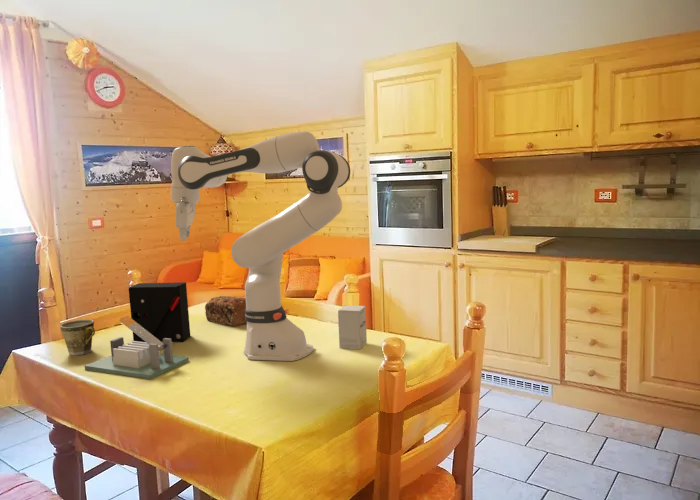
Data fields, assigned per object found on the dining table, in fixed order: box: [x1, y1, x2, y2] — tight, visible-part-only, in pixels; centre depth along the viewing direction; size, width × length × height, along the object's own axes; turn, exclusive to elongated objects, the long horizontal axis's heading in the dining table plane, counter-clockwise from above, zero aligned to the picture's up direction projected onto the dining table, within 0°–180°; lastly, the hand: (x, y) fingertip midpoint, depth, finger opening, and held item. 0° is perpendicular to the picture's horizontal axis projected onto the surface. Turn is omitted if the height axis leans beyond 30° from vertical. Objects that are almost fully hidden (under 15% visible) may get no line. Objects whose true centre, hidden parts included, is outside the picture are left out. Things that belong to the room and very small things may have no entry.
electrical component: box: [128, 281, 191, 343], centre depth 189 cm, size 18×10×20 cm, turn 84°
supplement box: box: [337, 305, 368, 350], centre depth 174 cm, size 7×7×13 cm
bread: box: [204, 295, 247, 327], centre depth 212 cm, size 19×11×10 cm, turn 48°
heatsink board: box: [84, 336, 190, 380], centre depth 164 cm, size 26×16×8 cm, turn 66°
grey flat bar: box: [119, 315, 167, 351], centre depth 161 cm, size 17×4×1 cm
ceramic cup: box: [60, 319, 96, 356], centre depth 179 cm, size 13×10×10 cm
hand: (185, 238), depth 177 cm, fingers open, 8 cm apart
